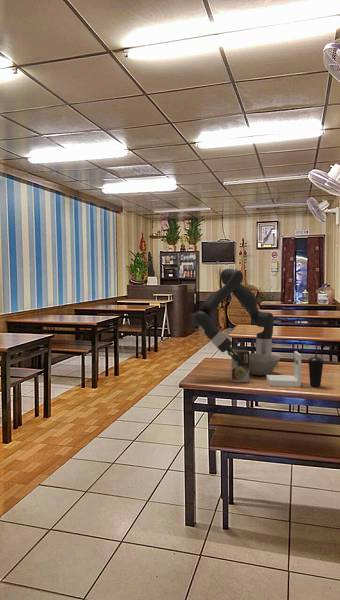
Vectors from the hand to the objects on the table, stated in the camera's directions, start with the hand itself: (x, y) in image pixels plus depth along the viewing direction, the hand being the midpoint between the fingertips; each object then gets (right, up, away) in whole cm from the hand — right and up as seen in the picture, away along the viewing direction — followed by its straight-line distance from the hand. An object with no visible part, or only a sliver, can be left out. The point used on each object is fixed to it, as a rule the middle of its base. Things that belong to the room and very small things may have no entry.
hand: (243, 364), depth 222 cm
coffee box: (-2, -9, +1) cm, 9 cm away
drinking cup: (+35, -10, -9) cm, 37 cm away
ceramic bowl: (+12, -9, +16) cm, 22 cm away
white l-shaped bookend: (+19, -9, -4) cm, 22 cm away
